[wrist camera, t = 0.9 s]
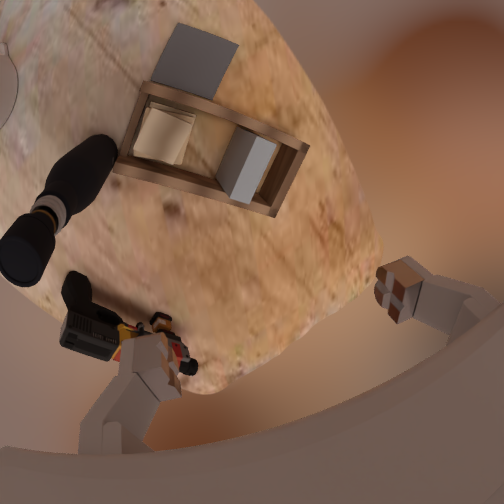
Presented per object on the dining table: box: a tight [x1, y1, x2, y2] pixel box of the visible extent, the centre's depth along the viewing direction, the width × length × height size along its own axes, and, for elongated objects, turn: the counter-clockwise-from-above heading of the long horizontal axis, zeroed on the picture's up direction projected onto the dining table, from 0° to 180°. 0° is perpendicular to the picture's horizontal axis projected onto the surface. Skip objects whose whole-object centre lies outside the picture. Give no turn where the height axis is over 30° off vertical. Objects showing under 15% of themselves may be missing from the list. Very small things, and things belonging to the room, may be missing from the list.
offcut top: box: [133, 107, 193, 165], centre depth 34 cm, size 6×6×2 cm
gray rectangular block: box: [215, 127, 277, 204], centre depth 40 cm, size 3×9×10 cm, turn 155°
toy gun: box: [60, 271, 198, 376], centre depth 47 cm, size 6×28×15 cm, turn 47°
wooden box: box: [113, 81, 310, 218], centre depth 39 cm, size 26×13×6 cm, turn 65°
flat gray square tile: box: [151, 23, 239, 100], centre depth 33 cm, size 10×10×1 cm
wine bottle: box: [0, 134, 118, 287], centre depth 24 cm, size 6×6×30 cm
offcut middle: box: [134, 107, 195, 165], centre depth 36 cm, size 7×7×2 cm
